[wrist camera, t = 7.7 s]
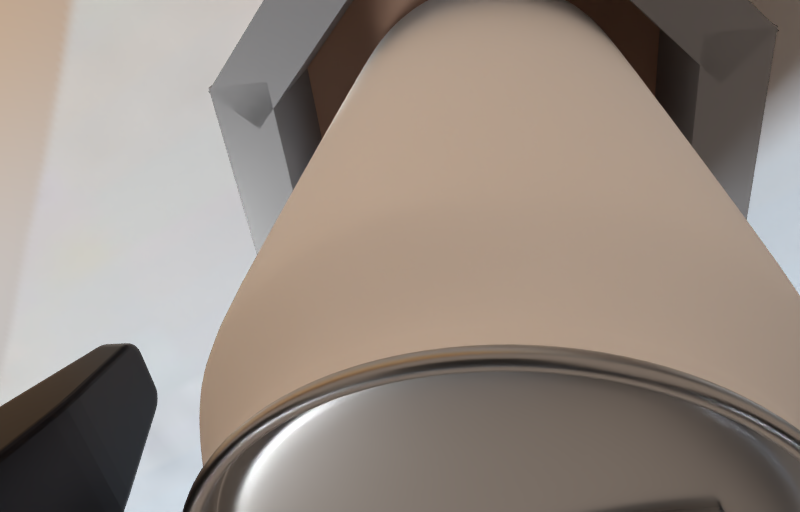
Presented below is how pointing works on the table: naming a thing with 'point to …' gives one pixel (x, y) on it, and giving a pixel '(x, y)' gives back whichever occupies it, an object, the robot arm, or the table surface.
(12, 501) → the robot arm
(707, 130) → the socket
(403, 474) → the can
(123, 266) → the table surface
